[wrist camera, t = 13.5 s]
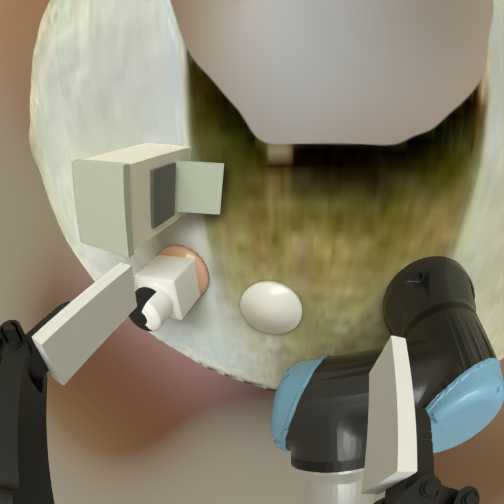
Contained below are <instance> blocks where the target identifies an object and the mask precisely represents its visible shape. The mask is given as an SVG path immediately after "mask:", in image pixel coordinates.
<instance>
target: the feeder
mask: <svg viewBox="0 0 504 504" xmlns="http://www.w3.org/2000/svg"><path fill="white" fill-rule="evenodd" d="M191 149H192V147H188V146H177V145H165V144H152V143H145V144H140V145H136V146H132V147H128V148H124V149H120V150H116V151H112V152H108V153H104V154H101V155H97V156H94V157H90V158H87V159H84V160H82V159H77V160H74V161H72V174H73V187H74V198H75V207H76V215H77V223H78V230H79V236H80V242H82V243H85V244H88V245H91V246H94V247H97V248H100V249H103V250H106V251H109V252H112V253H115V254H118V255H121V256H124V257H127V258H130V257H131V256H132V255H134V251H135V250H136V249H137V248H139V247H140V246H142V245H143V244H144V243H146V242H147V241H148V240H150V239H151V238H152V237H154V236H155V235H157V234H158V233H159V232H161V231H162V230H164V229H165V228H166V227H168V226H169V225H171V224H172V223H174V222H175V221H176V220H178V219H179V218H181V217H182V216H184V215H185V214H187V213H188V212H189V213H204V214H219V215H220V208H221V195H222V183H223V172H224V163H211V162H194V161H191Z"/></svg>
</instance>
